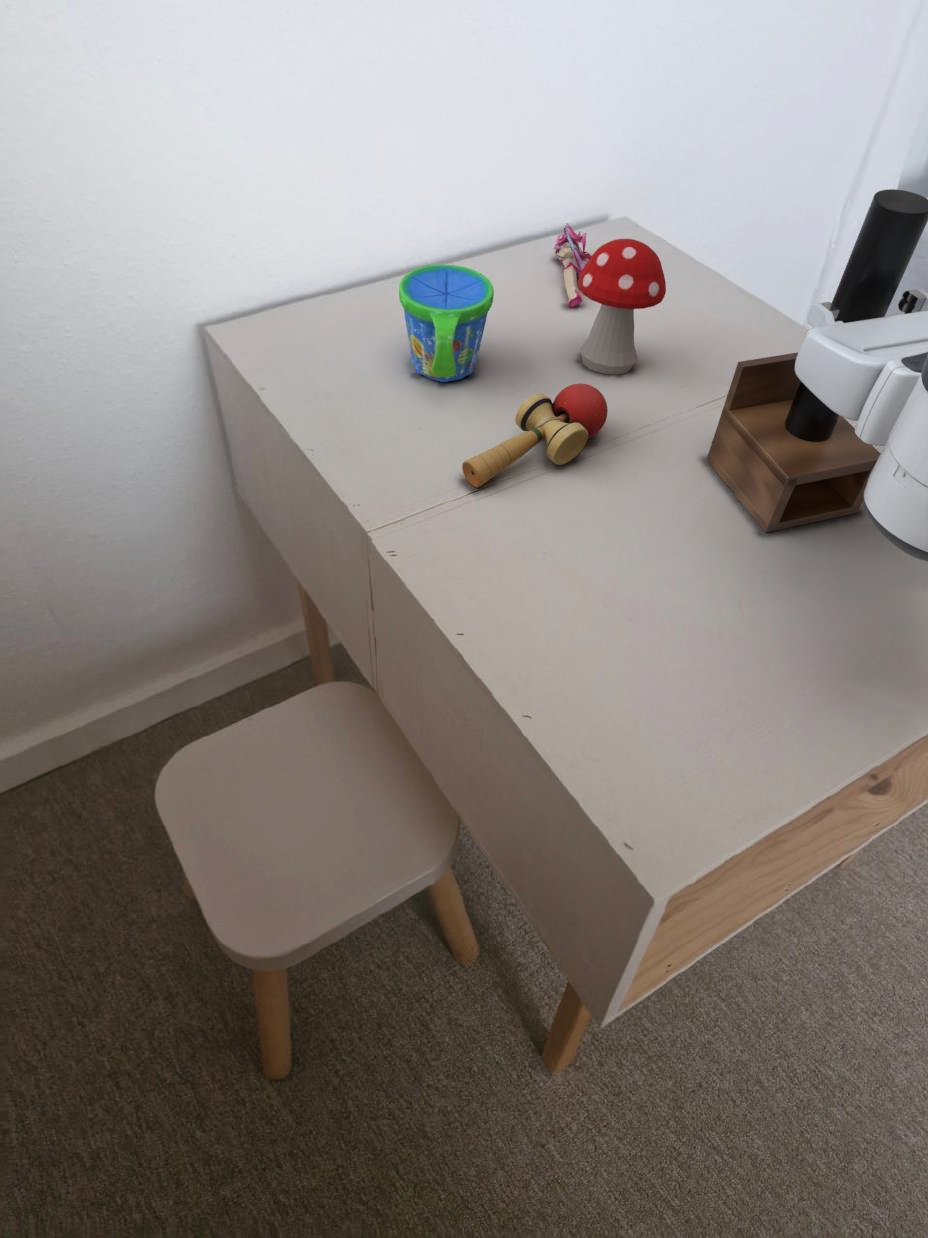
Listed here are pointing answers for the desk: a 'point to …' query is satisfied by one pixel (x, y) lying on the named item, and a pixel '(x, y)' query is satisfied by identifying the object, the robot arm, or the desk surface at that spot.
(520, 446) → the kendama
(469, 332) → the snack cup
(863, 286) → the cylinder
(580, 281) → the decorative mushroom
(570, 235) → the toy
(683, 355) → the desk surface
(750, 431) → the shelf
